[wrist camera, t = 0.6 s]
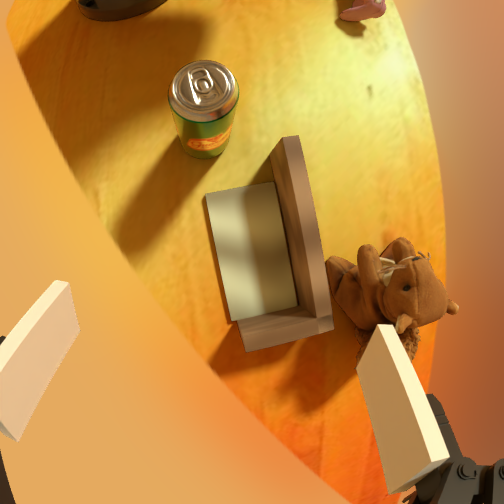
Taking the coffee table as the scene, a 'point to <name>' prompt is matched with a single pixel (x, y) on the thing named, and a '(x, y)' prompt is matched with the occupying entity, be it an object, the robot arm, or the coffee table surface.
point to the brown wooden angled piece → (272, 254)
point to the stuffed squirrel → (389, 292)
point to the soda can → (203, 107)
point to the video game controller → (364, 10)
